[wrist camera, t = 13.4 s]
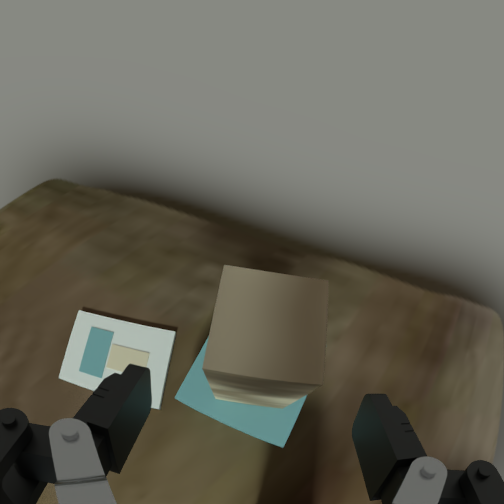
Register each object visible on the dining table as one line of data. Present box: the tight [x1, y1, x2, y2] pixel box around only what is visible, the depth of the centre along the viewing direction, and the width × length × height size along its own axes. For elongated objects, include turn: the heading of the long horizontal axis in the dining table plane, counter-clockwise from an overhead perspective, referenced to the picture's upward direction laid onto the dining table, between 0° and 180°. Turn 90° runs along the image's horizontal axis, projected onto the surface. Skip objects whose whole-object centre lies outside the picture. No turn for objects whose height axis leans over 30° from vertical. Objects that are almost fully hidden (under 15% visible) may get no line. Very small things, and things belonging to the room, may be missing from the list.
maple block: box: [202, 265, 329, 409], centre depth 16 cm, size 4×4×10 cm
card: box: [59, 310, 176, 410], centre depth 24 cm, size 10×7×1 cm
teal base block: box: [175, 336, 307, 448], centre depth 22 cm, size 8×8×5 cm
